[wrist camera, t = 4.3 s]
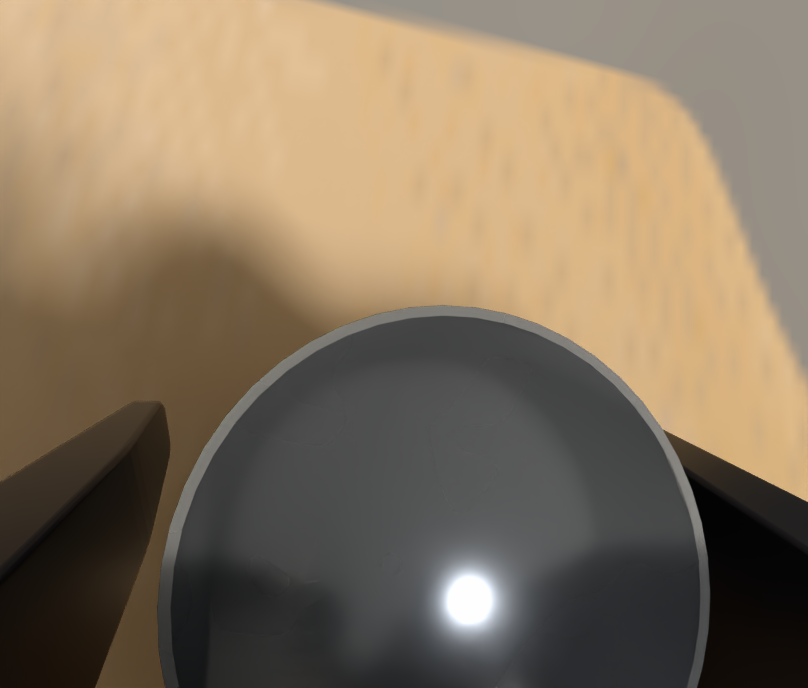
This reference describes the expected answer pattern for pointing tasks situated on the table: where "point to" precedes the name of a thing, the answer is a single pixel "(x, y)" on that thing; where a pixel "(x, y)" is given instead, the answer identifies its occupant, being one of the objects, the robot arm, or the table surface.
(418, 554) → the canister
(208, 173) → the table surface
